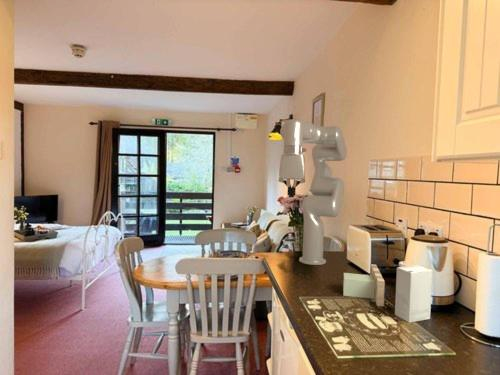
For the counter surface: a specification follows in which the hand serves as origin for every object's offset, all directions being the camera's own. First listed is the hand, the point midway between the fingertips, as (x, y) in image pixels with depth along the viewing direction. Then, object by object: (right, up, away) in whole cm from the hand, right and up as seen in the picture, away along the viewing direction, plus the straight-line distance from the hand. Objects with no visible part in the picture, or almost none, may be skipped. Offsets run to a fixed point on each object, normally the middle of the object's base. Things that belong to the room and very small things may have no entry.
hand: (291, 197), depth 140 cm
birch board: (+27, -34, -18) cm, 47 cm away
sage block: (+21, -34, -17) cm, 43 cm away
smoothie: (+41, -34, -11) cm, 55 cm away
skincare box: (+31, -35, -37) cm, 60 cm away
